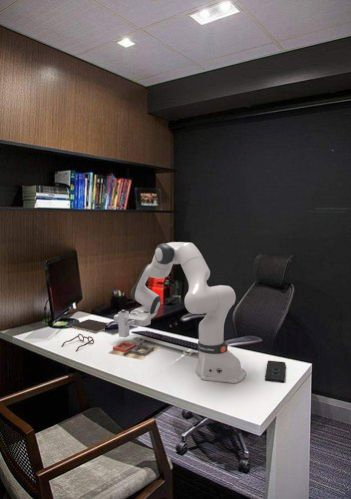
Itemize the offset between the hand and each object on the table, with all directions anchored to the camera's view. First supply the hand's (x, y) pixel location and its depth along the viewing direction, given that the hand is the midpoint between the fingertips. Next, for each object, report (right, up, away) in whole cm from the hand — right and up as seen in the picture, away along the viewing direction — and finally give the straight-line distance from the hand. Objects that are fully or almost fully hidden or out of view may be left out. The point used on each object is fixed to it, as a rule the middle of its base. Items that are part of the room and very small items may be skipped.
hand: (122, 323), depth 191 cm
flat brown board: (+6, -15, -1) cm, 16 cm away
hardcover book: (-26, -12, +45) cm, 54 cm away
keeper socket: (+1, -14, +2) cm, 14 cm away
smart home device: (+73, -17, -27) cm, 79 cm away
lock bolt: (+1, -7, +1) cm, 7 cm away
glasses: (-27, -16, +12) cm, 33 cm away
